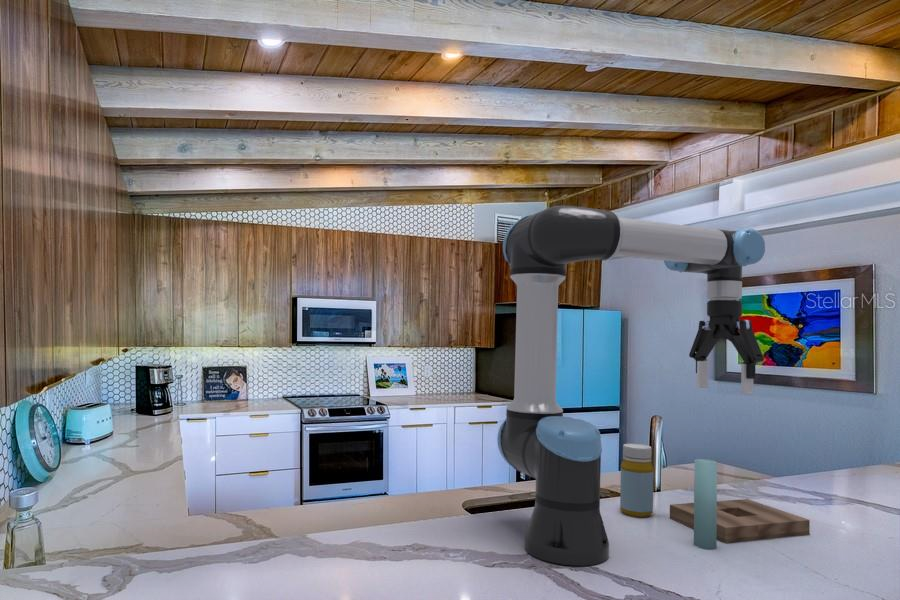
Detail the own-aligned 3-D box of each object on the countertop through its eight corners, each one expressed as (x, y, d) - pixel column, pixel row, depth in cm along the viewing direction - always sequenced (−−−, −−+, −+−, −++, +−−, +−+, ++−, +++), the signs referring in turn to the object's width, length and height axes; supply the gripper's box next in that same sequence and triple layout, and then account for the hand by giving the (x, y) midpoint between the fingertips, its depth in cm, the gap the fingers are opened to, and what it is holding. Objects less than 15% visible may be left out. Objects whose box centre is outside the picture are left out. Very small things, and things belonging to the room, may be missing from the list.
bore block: (725, 543, 114) (725, 527, 115) (669, 518, 130) (669, 504, 130) (809, 534, 122) (809, 520, 122) (747, 512, 137) (747, 499, 137)
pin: (704, 550, 110) (705, 463, 111) (689, 542, 114) (689, 459, 115) (721, 548, 112) (721, 462, 113) (705, 541, 115) (706, 458, 116)
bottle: (654, 519, 128) (655, 449, 129) (621, 516, 130) (622, 447, 131) (650, 510, 135) (651, 444, 136) (619, 507, 137) (620, 442, 138)
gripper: (781, 298, 128) (781, 396, 127) (698, 303, 152) (698, 385, 151) (755, 296, 126) (755, 396, 125) (675, 301, 150) (674, 385, 148)
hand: (723, 390), depth 138 cm, fingers open, 13 cm apart
